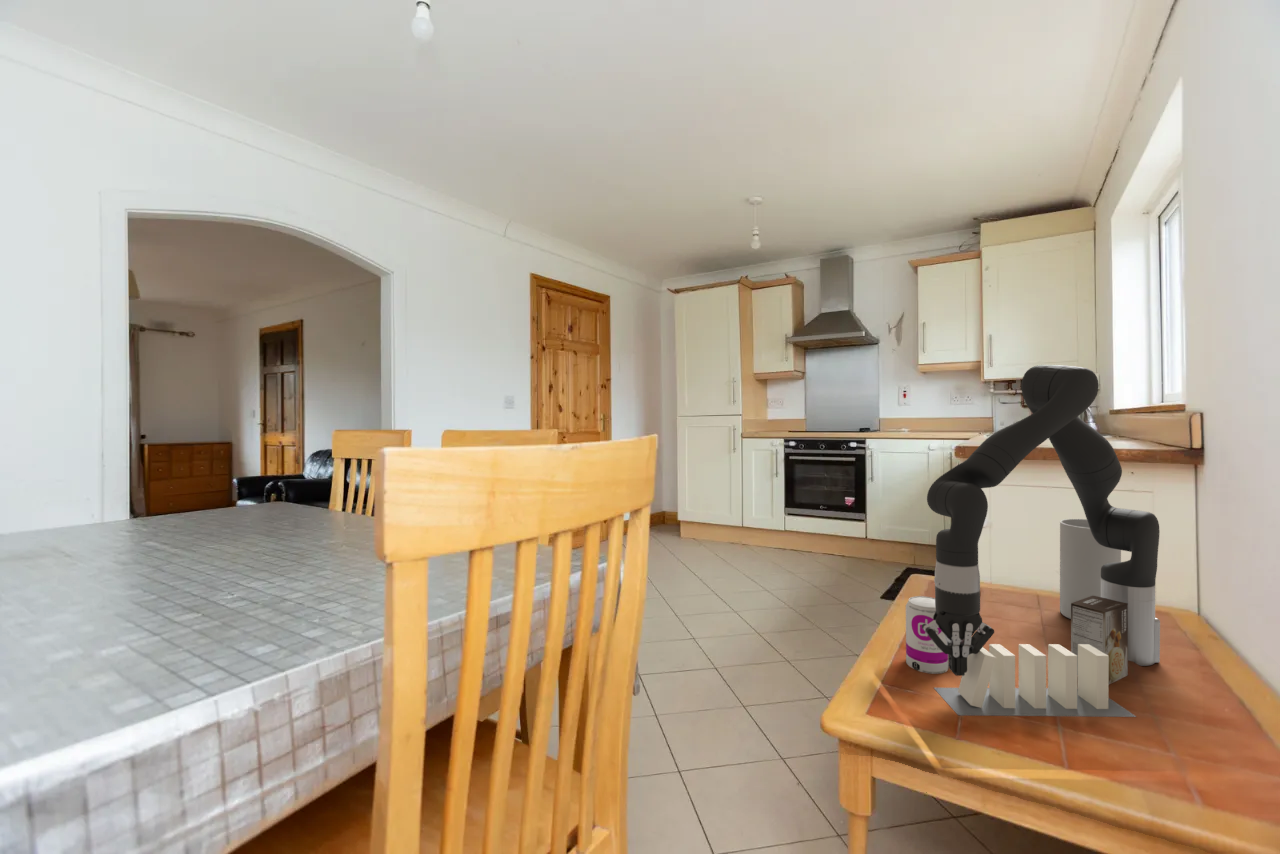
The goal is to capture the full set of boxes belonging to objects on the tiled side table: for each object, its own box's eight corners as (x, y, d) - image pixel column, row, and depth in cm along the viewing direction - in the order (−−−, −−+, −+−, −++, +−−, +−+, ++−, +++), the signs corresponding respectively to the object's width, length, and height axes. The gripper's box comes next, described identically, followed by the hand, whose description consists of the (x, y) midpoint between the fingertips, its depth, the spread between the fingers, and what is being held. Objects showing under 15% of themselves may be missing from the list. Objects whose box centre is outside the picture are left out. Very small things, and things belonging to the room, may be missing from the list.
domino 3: (1029, 694, 110) (1029, 644, 109) (1046, 708, 105) (1046, 655, 104) (1018, 694, 110) (1018, 644, 109) (1034, 708, 105) (1034, 655, 104)
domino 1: (967, 694, 110) (981, 645, 110) (981, 708, 105) (995, 657, 105) (957, 691, 110) (971, 643, 110) (971, 705, 105) (985, 654, 105)
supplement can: (947, 681, 117) (946, 611, 117) (903, 672, 122) (903, 604, 121) (949, 665, 124) (949, 598, 124) (908, 657, 129) (907, 593, 128)
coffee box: (1092, 667, 122) (1092, 594, 121) (1128, 679, 116) (1129, 603, 115) (1069, 677, 118) (1070, 602, 117) (1106, 691, 112) (1106, 611, 111)
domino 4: (1058, 694, 109) (1058, 644, 109) (1077, 708, 104) (1077, 655, 104) (1048, 694, 109) (1048, 644, 109) (1065, 708, 104) (1065, 655, 104)
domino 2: (999, 694, 110) (999, 644, 110) (1015, 708, 105) (1015, 655, 105) (989, 694, 110) (989, 644, 110) (1004, 708, 105) (1004, 655, 105)
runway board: (1095, 693, 111) (1095, 688, 111) (1136, 722, 101) (1136, 716, 101) (933, 692, 113) (933, 687, 113) (958, 720, 103) (958, 715, 103)
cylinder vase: (1107, 631, 140) (1107, 531, 139) (1050, 615, 151) (1050, 522, 150) (1129, 620, 146) (1130, 524, 145) (1073, 605, 157) (1073, 517, 156)
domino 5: (1088, 694, 109) (1088, 644, 108) (1108, 708, 104) (1108, 655, 103) (1077, 694, 109) (1077, 644, 109) (1096, 708, 104) (1097, 655, 104)
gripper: (929, 592, 104) (931, 683, 105) (1004, 591, 103) (1005, 683, 104) (913, 579, 112) (914, 664, 112) (982, 578, 111) (983, 664, 111)
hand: (958, 673), depth 108 cm, fingers closed
